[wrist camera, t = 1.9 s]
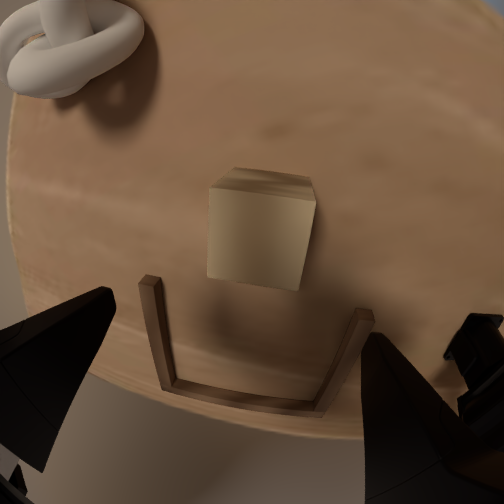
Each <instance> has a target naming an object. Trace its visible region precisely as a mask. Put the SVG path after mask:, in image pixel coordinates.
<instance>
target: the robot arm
mask: <svg viewBox="0 0 504 504" xmlns="http://www.w3.org/2000/svg"><path fill="white" fill-rule="evenodd" d="M115 312H116V303H115V299H114V294H113V291H112V289H111V288H108V287H104V286H101V287H98V288H96V289H94V290H91V291H89V292H87V293H84V294H82V295H80V296H77V297H75V298H73V299H70V300H68V301H66V302H63V303H61V304H59V305H56V306H54V307H52V308H50V309H47V310H45V311H43V312H41V313H38V314H36V315H34V316H32V317H30V318H27V319H26V320H23V321H21V322H19V323H16V324H14V325H12V326H10V327H7V328H5V329H2V330H0V504H34V503H33V502H32V501H30V500H29V499H28V498H26V497H25V496H26V494H27V492H28V491H27V488H26V485H25V481H24V478H23V474H22V470H21V467H20V465H19V464H18V461H19V459H21V460H23V461H24V462H26V463H27V464H29V465H30V466H32V467H33V468H35V469H36V470H38V471H39V472H41V473H43V471H44V468H45V466H46V463H47V460H48V458H49V455H50V452H51V450H52V447H53V445H54V442H55V440H56V437H57V435H58V432H59V430H60V428H61V425H62V423H63V421H64V418H65V416H66V414H67V412H68V409H69V407H70V405H71V403H72V401H73V399H74V397H75V395H76V393H77V390H78V389H79V386H80V384H81V383H82V381H83V379H84V377H85V374H86V373H87V371H88V369H89V367H90V365H91V363H92V361H93V359H94V357H95V356H96V354H97V352H98V350H99V348H100V346H101V344H102V342H103V340H104V338H105V335H106V333H107V331H108V328H109V326H110V324H111V321H112V319H113V317H114V315H115ZM503 320H504V317H503V316H502V315H492V314H475V313H473V314H470V315H469V317H468V318H467V320H466V322H465V323H464V325H463V327H462V328H461V330H460V332H459V333H458V335H457V336H456V338H455V340H454V341H453V343H452V344H451V346H450V347H449V349H448V350H447V352H446V353H445V355H444V359H445V360H455V362H456V364H457V367H458V369H459V371H460V374H461V376H463V377H464V379H465V382H466V384H467V387H468V389H469V390H468V391H467V392H466V393H465V394H463V395H461V396H460V397H458V398H457V402H458V412H459V417H458V416H457V414H456V413H455V412H454V411H453V410H452V409H451V408H450V407H449V406H448V404H447V403H446V402H445V401H444V400H442V398H441V396H440V395H439V394H438V393H437V392H436V391H435V390H434V388H433V387H432V386H431V385H430V384H429V383H428V382H427V381H426V379H425V378H424V377H423V376H422V375H421V374H420V373H419V372H418V371H417V369H416V368H415V367H414V366H413V365H412V364H411V363H410V362H409V361H408V360H407V359H406V357H405V356H404V355H403V354H402V353H401V352H400V351H399V350H398V349H397V348H396V347H395V346H394V345H393V344H392V342H391V341H390V340H389V339H388V338H387V337H386V336H385V335H384V334H383V333H379V332H371V333H370V334H369V336H368V338H367V340H366V342H365V344H364V346H363V348H362V351H361V402H362V414H363V428H364V446H365V504H504V338H503V336H502V335H501V333H500V332H499V330H498V328H499V327H500V325H501V323H502V322H503Z"/></svg>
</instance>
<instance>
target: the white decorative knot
mask: <svg viewBox="0 0 504 504" xmlns="http://www.w3.org/2000/svg"><path fill="white" fill-rule="evenodd" d="M44 32H45V34H44V35H42V36H40V37H38V38H36V39H35V40H33V41H32V42H30V43H29V44H27V45H26V46H24V45H23V41H24V40H26V39H27V38H29V37H31V36H34V35H36V34H40V33H44ZM94 33H95V34H94ZM143 36H144V21H143V19H142V17H141V15H140V14H139V13H138V12H136V11H135V10H134V9H132V8H130V7H129V6H127V5H124V4H122V3H119V2H116V1H113V0H39V1H37V2H34V3H31V4H29V5H26V6H24V7H22V8H21V9H19V10H17V11H16V12H14V13H13V14H11V15H10V16H9V17H8V18H7V19H6V20H5V21H4V22H3V24H2V25H1V26H0V81H1V82H2V83H3V84H5V85H6V86H7V87H9V88H10V89H13V90H14V91H15V92H16V93H18V94H20V95H26V96H30V97H34V98H42V99H55V98H62V97H66V96H69V95H71V94H73V93H76V92H77V91H78V90H80V89H81V88H82V87H83V86H84V85H86V84H87V83H88V82H89V81H90V79H92V78H94V77H96V76H98V75H101V74H103V73H104V72H106V71H108V70H110V69H111V68H113V67H115V66H116V65H118V64H120V63H121V62H123V61H124V60H125V59H127V58H128V57H129V56H130V55H131V54H132V53H133V52H134V51H135V50H136V49H137V47H138V45H139V44H140V42H141V40H142V38H143Z"/></svg>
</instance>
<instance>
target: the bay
mask: <svg viewBox="0 0 504 504" xmlns="http://www.w3.org/2000/svg"><path fill="white" fill-rule="evenodd" d="M138 286H139V292H140V298H141V303H142V309H143V314H144V319H145V324H146V329H147V333H148V338H149V342H150V347H151V351H152V355H153V359H154V363H155V367H156V370H157V374H158V378H159V381H160V385H161V388H162V390H163V391H167V392H170V393H174V394H177V395H181V396H185V397H189V398H193V399H197V400H201V401H205V402H209V403H214V404H219V405H224V406H229V407H234V408H240V409H245V410H251V411H258V412H265V413H273V414H281V415H291V416H302V417H316V418H322V417H323V415H324V414H325V412H326V411H327V409H328V407H329V406H330V404H331V403H332V401H333V399H334V398H335V396H336V395H337V393H338V391H339V390H340V388H341V386H342V384H343V383H344V381H345V379H346V377H347V376H348V374H349V372H350V370H351V369H352V367H353V365H354V363H355V361H356V359H357V357H358V355H359V354H360V352H361V350H362V348H363V346H364V344H365V342H366V340H367V338H368V336H369V333H370V331H371V329H372V327H373V325H374V323H375V319H374V316H373V313H372V310H367V309H358V308H356V309H355V312H354V314H353V317H352V320H351V322H350V324H349V327H348V329H347V332H346V334H345V336H344V339H343V341H342V343H341V346H340V348H339V350H338V352H337V355H336V357H335V359H334V361H333V363H332V365H331V367H330V370H329V372H328V374H327V376H326V378H325V380H324V382H323V384H322V386H321V388H320V390H319V392H318V394H317V396H316V398H315V399H314V401H301V400H291V399H282V398H274V397H266V396H260V395H253V394H247V393H241V392H235V391H230V390H225V389H220V388H215V387H211V386H206V385H202V384H197V383H193V382H189V381H185V380H181V379H178V378H175V373H174V368H173V363H172V357H171V351H170V345H169V339H168V333H167V326H166V319H165V312H164V304H163V296H162V287H161V278H160V277H155V276H150V275H145V276H144V277H143V278H142V280H141V281H140V282H139V283H138Z"/></svg>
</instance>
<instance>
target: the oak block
mask: <svg viewBox="0 0 504 504" xmlns="http://www.w3.org/2000/svg"><path fill="white" fill-rule="evenodd" d="M315 206H316V199H315V196H314V192H313V189H312V185H311V182H310V178H309V177H306V176H300V175H293V174H286V173H279V172H272V171H264V170H256V169H247V168H238V167H235V168H233V169H232V170H231V171H230V172H228V173H227V174H226V175H225V176H223V177H222V178H221V179H220V180H218V181H217V182H216V183H215V184H213V185H212V186H211V187H210V192H209V216H208V254H207V277H210V278H216V279H222V280H228V281H234V282H240V283H246V284H252V285H258V286H265V287H271V288H278V289H285V290H291V291H298V289H299V285H300V281H301V276H302V272H303V267H304V262H305V258H306V253H307V248H308V243H309V238H310V233H311V228H312V223H313V217H314V212H315Z"/></svg>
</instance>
